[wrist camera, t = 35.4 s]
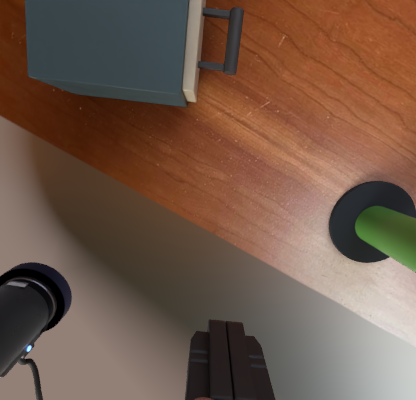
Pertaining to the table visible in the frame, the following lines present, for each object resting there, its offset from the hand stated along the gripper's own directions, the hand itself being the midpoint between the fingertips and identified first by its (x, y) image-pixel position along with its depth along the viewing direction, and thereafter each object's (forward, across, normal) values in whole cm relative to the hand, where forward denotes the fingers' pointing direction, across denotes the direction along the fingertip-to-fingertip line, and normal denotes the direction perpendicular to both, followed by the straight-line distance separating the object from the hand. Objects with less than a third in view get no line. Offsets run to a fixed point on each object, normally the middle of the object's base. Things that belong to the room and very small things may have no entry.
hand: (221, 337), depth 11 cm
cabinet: (+25, +12, -19) cm, 34 cm away
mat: (+25, -23, 0) cm, 34 cm away
